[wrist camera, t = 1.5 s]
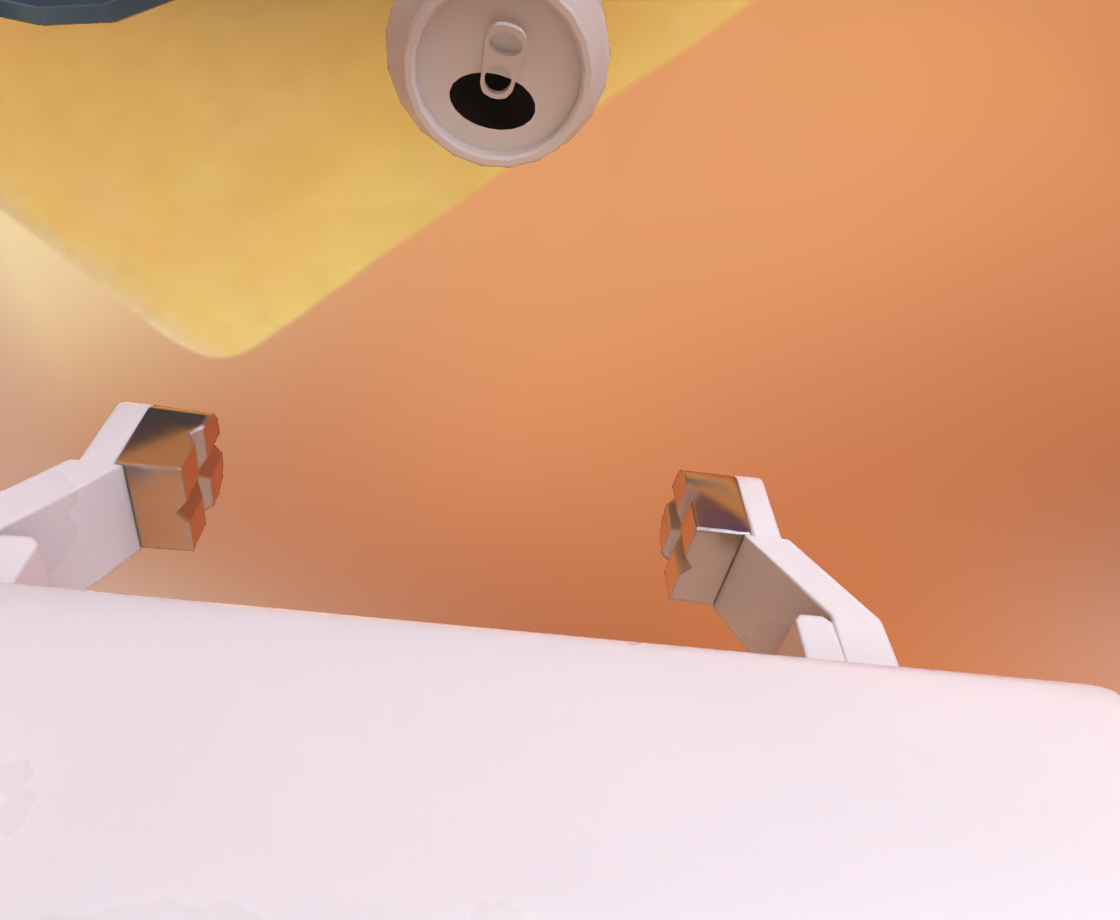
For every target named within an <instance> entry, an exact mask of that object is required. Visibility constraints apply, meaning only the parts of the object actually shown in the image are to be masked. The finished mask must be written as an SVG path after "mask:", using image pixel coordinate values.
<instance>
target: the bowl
mask: <svg viewBox="0 0 1120 920" xmlns="http://www.w3.org/2000/svg"><path fill="white" fill-rule="evenodd" d="M172 1H174V0H0V17H3V18H7V19H12V20H17V21H21V22H26V23H31V24H36V25H43V26H50V25H73V24H95V23H113V22H118V21H121V20H123V19H126V18H129V17H132V16H134V15H137V14H140V13H142V12H145V11H148V10H150V9H153V8H156V7H158V6H161V5H164V4H166V3H169V2H172Z"/></svg>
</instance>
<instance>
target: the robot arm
mask: <svg viewBox="0 0 1120 920" xmlns="http://www.w3.org/2000/svg"><path fill="white" fill-rule="evenodd" d="M219 433H220V432H219V425H218V418H217V417H216V416H215V414H213V413H207V412H200V411H193V410H186V409H179V408H172V407H165V406H157V405H154V406H152V405H147V404H141V403H134V402H126V401H123V402H121V403H119V404H117V405H116V406H115V407H114V409H113V410H112V412H111V413H110V414H109V416H108V417H107V419H106V420H105V422H104V423H103V425H102V426H101V428H100V429H99V431H98V432H97V434H96V435H95V437H94V438H93V440H92V441H91V442H90V444H89V445H88V447H87V448H86V450H85V451H84V453H83V454H82V456H81V457H80V458H79V460H71V459H69V460H67V461H65V462H63V463H60V464H58V465H56V466H54V467H52V468H50V469H48V470H45V471H43V472H41V473H39V474H37V475H35V476H33V477H30V478H28V479H26V480H24V481H22V482H20V483H18V484H16V485H13V486H11V487H9V488H7V489H5V490H3V491H1V492H0V920H1120V694H1118V693H1117V692H1115V691H1113V690H1110V689H1107V688H1104V687H1100V686H1096V685H1090V684H1081V683H1072V682H1061V681H1049V680H1039V679H1028V678H1017V677H1006V676H996V675H983V674H973V673H963V672H952V671H941V670H931V669H920V668H909V667H899V665H898V663H897V660H896V657H895V655H894V652H893V650H892V647H891V645H890V642H889V640H888V637H887V635H886V632H885V630H884V628H883V625H882V623H881V621H880V620H879V619H878V618H877V617H876V616H875V615H873V614H872V613H871V612H870V611H869V610H868V609H867V608H865V607H864V606H863V605H862V604H861V603H860V602H859V601H858V600H856V599H855V598H854V597H853V596H852V595H851V594H850V593H848V592H847V591H846V590H845V589H844V588H843V587H841V585H839V584H838V583H837V582H836V581H835V580H834V579H833V578H831V577H830V576H829V575H828V574H827V573H826V572H825V571H823V570H822V569H821V568H820V567H819V566H818V565H817V564H816V563H814V562H813V561H812V560H811V559H810V558H809V557H808V556H806V555H805V554H804V553H803V552H802V551H801V550H800V549H798V548H797V547H796V546H795V545H794V544H793V543H791V541H789V540H785V539H781V536H780V533H779V530H778V527H777V524H776V521H775V518H774V515H773V512H772V509H771V506H770V503H769V499H768V497H767V493H766V490H765V487H764V484H763V481H762V480H761V479H759V478H754V477H744V476H734V475H733V476H727V475H718V474H710V473H701V472H692V471H684V470H680V471H679V472H678V474H677V475H676V478H675V481H674V483H673V486H672V487H673V492H674V499H673V500H672V501H670V502H669V503H667V504H666V507H665V510H664V513H663V517H662V522H661V529H660V546H661V553H662V554H663V556H664V557H665V558H666V559H667V560H668V563H667V566H666V569H665V578H666V583H667V590H668V596H669V599H670V600H678V601H686V602H694V603H702V604H710V605H714V606H713V607H714V608H715V610H716V611H717V612H718V614H719V615H720V616H721V618H722V619H723V620H724V621H725V623H726V624H727V625H728V626H729V628H730V629H731V630H732V631H733V633H734V634H735V635H736V637H737V638H738V639H739V640H740V642H741V643H742V644H743V646H744V647H745V648H746V650H747V651H748V652H738V651H728V650H718V649H706V648H695V647H684V646H673V645H663V644H652V643H642V642H630V641H620V640H610V639H599V638H589V637H578V636H568V635H556V634H546V633H536V632H525V631H514V630H504V629H493V628H483V627H472V626H460V625H449V624H439V623H428V622H418V621H406V620H395V619H385V618H374V617H363V616H353V615H342V614H332V613H322V612H310V611H300V610H290V609H279V608H268V607H257V606H247V605H236V604H226V603H215V602H204V601H194V600H183V599H172V598H162V597H151V596H141V595H140V596H139V595H130V594H119V593H109V592H98V591H87V590H88V589H89V588H90V587H92V586H93V585H94V584H96V583H97V582H98V581H99V580H101V579H102V578H104V577H105V576H106V575H108V574H109V573H110V572H112V571H113V570H115V569H116V568H117V567H118V566H120V565H121V564H123V563H124V562H125V561H126V560H128V559H129V558H131V557H132V556H133V555H135V554H136V553H137V552H139V551H140V550H141V548H140V547H142V548H156V549H169V550H182V551H194V549H195V547H196V545H197V543H198V540H199V538H200V536H201V534H202V531H203V529H204V527H205V525H206V519H205V511H206V510H207V509H209V508H211V507H212V506H214V505H215V502H216V500H217V498H218V495H219V492H220V488H221V483H222V478H223V457H222V452H221V451H220V450H219V449H218V448H217V447H216V446H215V445H214V444H215V442H216V439H217V438H218V435H219Z"/></svg>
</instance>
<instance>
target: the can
mask: <svg viewBox="0 0 1120 920" xmlns="http://www.w3.org/2000/svg"><path fill="white" fill-rule="evenodd" d="M386 41H387V62H388V70H389V73H390V75H391V78H392V81H393V84H394V87H395V89H396V92H397V95H398V98H399V100H400V103H401V104H402V105H403V107H404V108H405V109H406V111H407V112H408V113H409V115H410V116H411V118H412V119H413V120H414V122H415V123H416V124H417V126H418V127H419V128H420V130H421V131H423V132H424V133H425V134H426V135H428V136H429V137H430V138H432V139H433V140H434V141H436V142H437V143H438V144H440V145H441V146H442V147H443V148H445V149H446V150H447V151H449V152H450V153H451V154H453V155H454V156H456V157H459V158H462V159H464V160H467V161H470V162H472V163H475V164H477V165H480V166H491V167H505V168H510V167H514V166H518V165H523V164H527V163H532V162H536V161H537V160H539V159H541V158H543V157H544V156H546V155H548V154H550V153H551V152H553V151H555V150H556V149H558V148H560V146H562V145H564V144H565V143H567V142H569V141H570V140H571V138H572V137H573V136H574V135H575V134H576V133H577V132H578V131H579V130H580V129H581V127H582V126H583V125H584V124H585V123H586V122H587V121H588V120H589V119H590V118H591V116H592V114H593V112H594V110H595V108H596V105H597V103H598V101H599V99H600V97H601V95H602V93H603V91H604V88H605V86H606V79H607V72H608V64H609V57H610V46H609V40H608V33H607V27H606V21H605V15H604V10H603V6H602V2H601V0H394V2H393V6H392V10H391V14H390V18H389V21H388V25H387V29H386Z"/></svg>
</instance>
